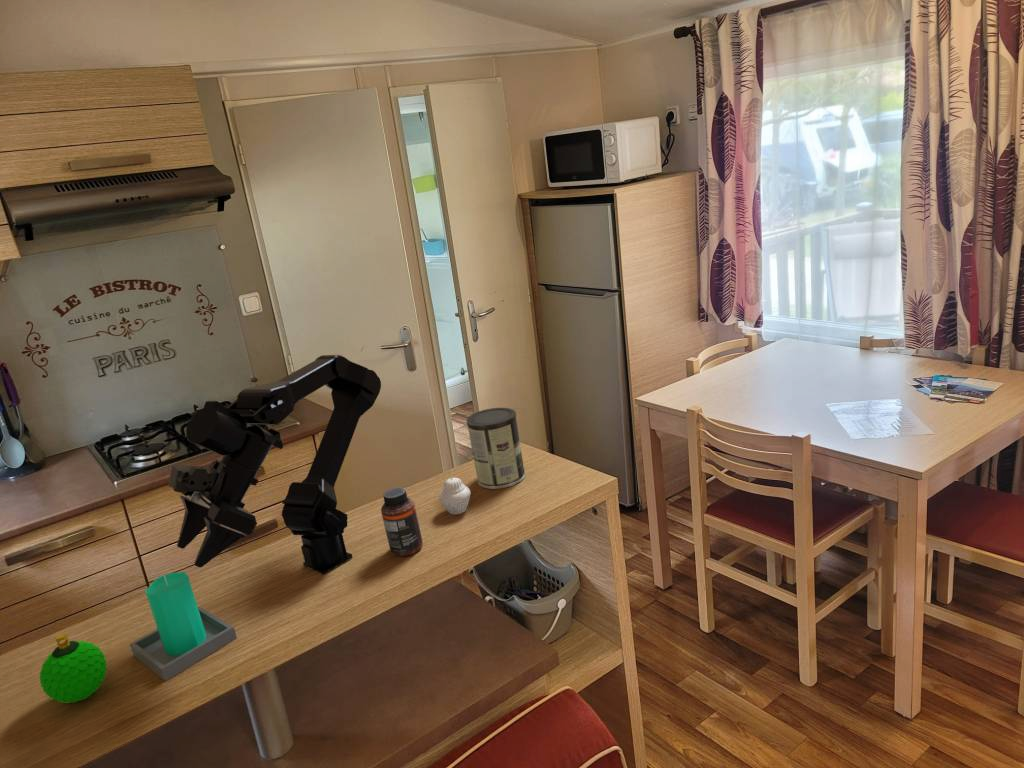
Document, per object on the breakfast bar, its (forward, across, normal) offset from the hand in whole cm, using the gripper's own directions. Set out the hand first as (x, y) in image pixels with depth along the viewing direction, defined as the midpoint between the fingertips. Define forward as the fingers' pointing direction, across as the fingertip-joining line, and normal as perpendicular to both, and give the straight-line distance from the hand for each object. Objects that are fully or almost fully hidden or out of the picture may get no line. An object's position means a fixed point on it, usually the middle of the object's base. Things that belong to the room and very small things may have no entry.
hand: (188, 556), depth 113 cm
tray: (+13, 0, +7) cm, 14 cm away
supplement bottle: (-14, +3, +34) cm, 37 cm away
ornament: (+23, 0, -3) cm, 23 cm away
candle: (+12, 0, +6) cm, 14 cm away
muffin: (-24, -2, +44) cm, 50 cm away
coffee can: (-34, -6, +54) cm, 65 cm away
